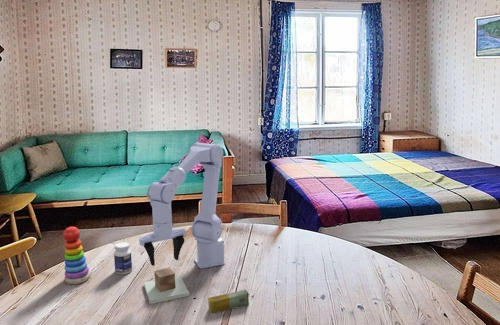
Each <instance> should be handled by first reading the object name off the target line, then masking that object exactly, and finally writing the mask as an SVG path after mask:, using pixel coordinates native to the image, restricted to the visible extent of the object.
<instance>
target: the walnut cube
mask: <svg viewBox="0 0 500 325" xmlns="http://www.w3.org/2000/svg"><path fill="white" fill-rule="evenodd" d="M153 272H154V280H155V286H156V287H157V288H158V290H159V291H160V292H163V291H167V290H170V289H174V288H176V286H175V276H176V273H175V271H173V270H172V268H171V267H166V268H161V269H157V270H154V271H153Z"/></svg>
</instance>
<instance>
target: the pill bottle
mask: <svg viewBox="0 0 500 325" xmlns="http://www.w3.org/2000/svg"><path fill="white" fill-rule="evenodd" d="M114 249H115V251H114V253H113V256H114V257H113V258H114V271H115V274H117V275H127V274H130V273H131V272H132V271H133V264H132V261H133V260H132V251H131V249H130V244H129V242H123V241H122V242H118V243H116V244H115V245H114Z"/></svg>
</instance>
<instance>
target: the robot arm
mask: <svg viewBox="0 0 500 325" xmlns="http://www.w3.org/2000/svg"><path fill="white" fill-rule="evenodd" d="M223 156H224V150H223V148H222V147H221V145H220V144H218V143H215V144H214V143H205V142H197V141H196V142H194V143H193V144H192V145H191V146H190V147H189V152H188V153H187V155H186V156H185V158H184V159H183V160H182V161H181V162H180V163H179V164H178V166H173V167H170V168H169V170H168V171H167V172H166V173H165V174H164V175H163V176H162V177H161V178H160V179H159V180H158V181H154V182H152V183H151V184H150V185H149V186H148V189H147V192H146V196H147V198H148V200H149V202H150V203H149V204H150V207H151V208H152V213H151V214H152V228H153V230H152V231H153V233H150V234H148V235H145V236H141V237H139V238H138V242H139V246H141V247H142V246H143V248H144V249H145V251H146V254H147V256H148V259H149V262H150V265H151V266H152V267H154V266H156V265H155V264H156V261H155V246H154V244H153V243H157V242H162V241H167V240H171V239H172V240H171V241H172V245H173V246H172V247H173V258H174V260H175V261H178V260H179V258H180V252H181V249H182V247H183V245H184V243H185V237H187V230H186V229H185V228H182V229H173V219H172V218H173V216H172V215H173V214H172V201H173V200H174V198H175V197H176V196H175V195H176V193H177V190H178V189H179V188H180V187H181V185H182V184H183V183H184V182H185V181H186V179H187V176H186V175H187V174H188V173H189V172H190V171H191V170H192V169H193V168H195V166H197V165H198V164H199V165H201V166H202V168H203V170H204V176H203V187H202V196H201V206H200V212H199V213H198V214H197V215H196V216H194V217H193V218H194V219H193V223H192V226H191V235H192V236H193V237H194V240H195V241H196V252H197V254H196V255H197V257H196V258H194V262H195V264H196V265H197V266H198V268H199V269H201V270H202V269H207V268H211V267H217V266H223V265H226V262H225V244H224V240H223V239H222V237H221V236H222V234H223V233H222V232H223V229H222V220H221V218H219V216H218V215H217V214H216V209H217V201H218V200H217V199H218V191H219V184H220V183H219V180H220V172H221V168H222V165H223Z"/></svg>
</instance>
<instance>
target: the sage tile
mask: <svg viewBox="0 0 500 325" xmlns="http://www.w3.org/2000/svg"><path fill="white" fill-rule="evenodd" d="M143 286H144V290H145V293H146V296H147V299H148V302H149V304H150V305H152V304H156V303H162V302H167V301H172V300H177V299H181V298H185V297H190V291H189V290H188V288H187V286H186V284H185V283H184V280H183V279H182V276H181V275H175V286H176V288H174V289H170V290H167V291H163V292H160V291H159V290H158V288H157V287H156V286H155V279H154V280H149V281H144V282H143Z"/></svg>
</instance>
